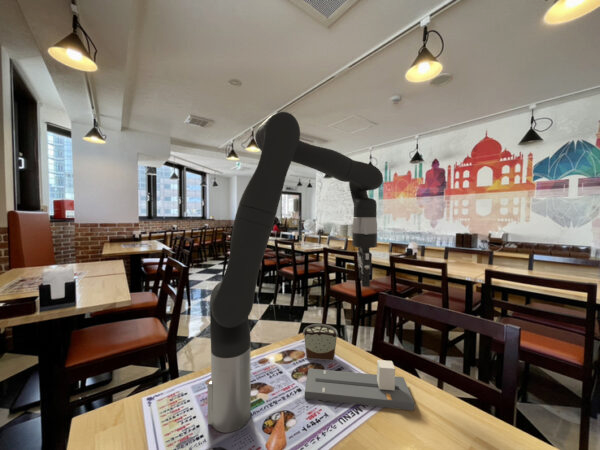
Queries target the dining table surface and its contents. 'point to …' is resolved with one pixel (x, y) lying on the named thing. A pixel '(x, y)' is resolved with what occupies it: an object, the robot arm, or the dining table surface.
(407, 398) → the fader board
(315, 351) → the food container
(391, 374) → the slider handle
